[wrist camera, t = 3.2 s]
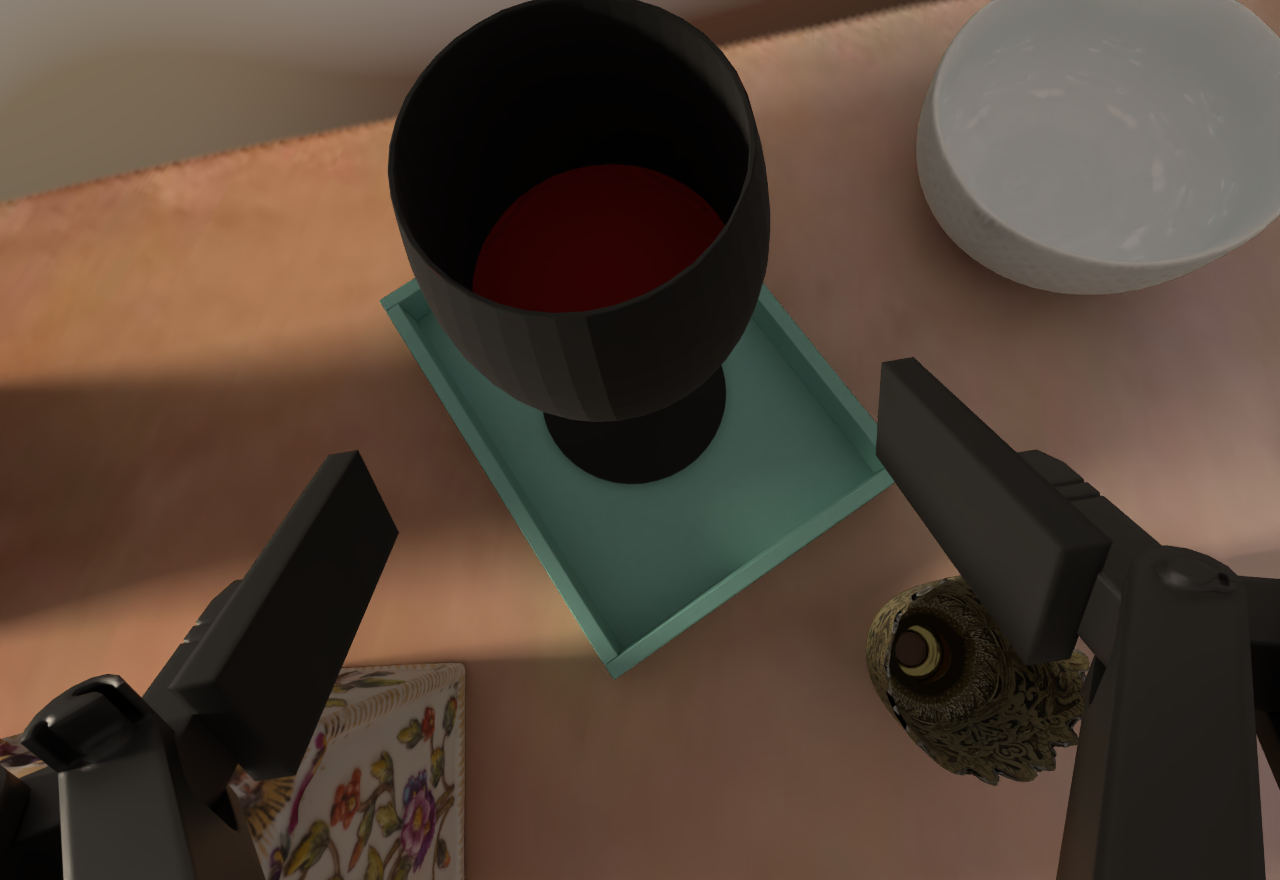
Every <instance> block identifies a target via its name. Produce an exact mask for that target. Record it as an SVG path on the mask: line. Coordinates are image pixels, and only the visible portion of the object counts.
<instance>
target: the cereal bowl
mask: <svg viewBox="0 0 1280 880" xmlns="http://www.w3.org/2000/svg"><path fill="white" fill-rule="evenodd" d="M916 150H917V155H916V161H917V166H918V171H917V172H918V175H919V179H920V184H921V188H922V190H923V192H924V197H925V199H926V201H927V203H928V205H929V207H930V209H931V212H932V213H933V215H934V217H935V218H936V220H937V221H938V223H939V224H940V226H941V228H942V229H943V230H944V231H945V233H946V234H947V235H948V236H949V237H950V238H951V239H952V241H954V242H955V243H956V244H957V245H958V247H959V248H961V249H962V250H963V251H964V252H965V253H966V254H968V255H969V256H970V257H971V258H972V259H974V260H976V261H978V262H979V263H980V264H981V265H983V266H985V267H986V268H987V269H990V270H992V271H993V272H995V273H996V274H999V275H1001V276H1002V277H1004V278H1008V279H1010V280H1011V281H1015V282H1017V283H1019V284H1024V285H1027V286H1029V287H1030V288H1037V289H1041V290H1047V291H1050V292H1057V293H1063V294H1079V295H1105V294H1119V293H1123V292H1127V291H1136V290H1140V289H1143V288H1146V287H1151V286H1156V285H1158V284H1160V283H1163V282H1167V281H1171V280H1173V279H1176V278H1178V277H1180V276H1184V275H1187V274H1189V273H1190V272H1192V271H1194V270H1196V269H1198V268H1200V267H1204V266H1206V265H1207V264H1209V263H1210V262H1212V261H1214V260H1215V259H1217V258H1220V257H1222V256H1224V255H1226V254H1227V253H1229V252H1230V251H1232V250H1234V249H1236V248H1238V247H1240V246H1241V245H1243V244H1244V243H1246V242H1247V241H1248V240H1250V239H1252V238H1253V237H1255V236H1256V235H1257V234H1259V233H1260V232H1261V231H1262V230H1263V229H1265V228H1266V227H1267V226H1268V225H1269V224H1270V223H1272V222H1273V221H1274V220H1275V219H1276V218H1277V217H1278V216H1279V215H1280V38H1279V36H1278V35H1277V34H1276V33H1275V32H1274V31H1273V30H1272V29H1271V28H1270V27H1268V26H1267V25H1266V24H1265V23H1264V22H1263V21H1262V20H1261V19H1260V18H1259V17H1258V16H1257V15H1256V14H1255V13H1253V12H1252V11H1251V10H1249V9H1248V8H1247V7H1245V6H1244V5H1243V4H1241V3H1239V2H1238V1H1236V0H992V1H990V2H989V3H988V4H986V5H985V6H984V7H983V8H981V9H980V10H979V11H978V12H977V13H976V14H975V15H974V16H973V17H972V18H971V19H970V20H969V21H968V22H967V23H966V24H965V25H964V26H963V27H962V28H961V30H960V31H959V32H958V34H957V35H956V36H955V37H954V39H953V40H952V42H951V44H950V45H949V47H948V48H947V50H946V52H945V53H944V55H943V56H942V59H941V61H940V64H939V66H938V68H937V69H936V72H935V75H934V78H933V80H932V82H931V84H930V86H929V89H928V93H927V95H926V97H925V100H924V103H923V108H922V112H921V114H920V119H919V126H918V129H917V142H916Z"/></svg>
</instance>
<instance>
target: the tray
mask: <svg viewBox="0 0 1280 880" xmlns="http://www.w3.org/2000/svg"><path fill="white" fill-rule="evenodd" d="M380 303H381V305H382V306H383V308H384V309H385V311H386V312H387V314H388V316H389V317H390V319H391V321H392V322H393V324H394V326H395V327H396V329H397V330H398V332H399V334H400V335H401V337H402V338H403V340H404V342H405V343H406V345H407V347H408V348H409V350H410V351H411V353H412V355H413V356H414V358H415V360H416V361H417V363H418V364H419V366H420V368H421V369H422V371H423V372H424V374H425V376H426V377H427V379H428V381H429V382H430V384H431V385H432V387H433V389H434V390H435V392H436V394H437V395H438V397H439V398H440V400H441V402H442V403H443V405H444V407H445V408H446V410H447V411H448V413H449V415H450V416H451V418H452V419H453V421H454V423H455V424H456V426H457V428H458V429H459V431H460V432H461V434H462V436H463V437H464V439H465V441H466V442H467V444H468V445H469V447H470V449H471V450H472V452H473V453H474V455H475V457H476V458H477V460H478V462H479V463H480V465H481V466H482V468H483V470H484V471H485V473H486V475H487V476H488V478H489V479H490V481H491V483H492V484H493V486H494V487H495V489H496V491H497V492H498V494H499V496H500V497H501V499H502V500H503V502H504V504H505V505H506V507H507V509H508V510H509V512H510V513H511V515H512V517H513V518H514V520H515V521H516V523H517V525H518V526H519V528H520V530H521V531H522V533H523V534H524V536H525V538H526V539H527V541H528V543H529V544H530V546H531V547H532V549H533V551H534V552H535V554H536V555H537V557H538V559H539V560H540V562H541V564H542V565H543V567H544V568H545V570H546V572H547V573H548V575H549V577H550V578H551V580H552V581H553V583H554V585H555V586H556V588H557V590H558V591H559V593H560V594H561V596H562V598H563V599H564V601H565V602H566V604H567V606H568V607H569V609H570V611H571V612H572V614H573V615H574V617H575V619H576V620H577V622H578V624H579V625H580V627H581V628H582V630H583V632H584V633H585V635H586V636H587V638H588V640H589V641H590V643H591V645H592V646H593V648H594V649H595V651H596V653H597V654H598V656H599V658H600V659H601V661H602V662H603V664H604V665H605V667H606V669H607V670H608V672H609V674H610V675H611V677H612V678H613V679H614V680H615V679H617V678H618V677H619V676H621V675H622V674H624V673H625V672H627V671H628V670H629V669H631V668H632V667H634V666H635V665H637V664H638V663H639V662H641V661H642V660H644V659H645V658H646V657H648V656H649V655H651V654H652V653H654V652H655V651H656V650H658V649H659V648H661V647H662V646H664V645H665V644H666V643H668V642H669V641H671V640H672V639H673V638H675V637H676V636H678V635H679V634H681V633H682V632H683V631H685V630H686V629H688V628H689V627H691V626H692V625H693V624H695V623H696V622H698V621H699V620H701V619H702V618H703V617H705V616H706V615H708V614H709V613H710V612H712V611H713V610H715V609H716V608H718V607H719V606H720V605H722V604H723V603H725V602H726V601H728V600H729V599H730V598H732V597H733V596H735V595H736V594H737V593H739V592H740V591H742V590H743V589H745V588H746V587H747V586H749V585H750V584H752V583H753V582H755V581H756V580H757V579H759V578H760V577H762V576H763V575H764V574H766V573H767V572H769V571H770V570H772V569H773V568H774V567H776V566H777V565H779V564H780V563H782V562H783V561H784V560H786V559H787V558H789V557H790V556H791V555H793V554H794V553H796V552H797V551H799V550H800V549H801V548H803V547H804V546H806V545H807V544H809V543H810V542H811V541H813V540H814V539H816V538H817V537H818V536H820V535H821V534H823V533H824V532H826V531H827V530H828V529H830V528H831V527H833V526H834V525H836V524H837V523H838V522H840V521H841V520H843V519H844V518H846V517H847V516H848V515H850V514H851V513H853V512H854V511H855V510H857V509H858V508H860V507H861V506H863V505H864V504H865V503H867V502H868V501H870V500H871V499H873V498H874V497H875V496H877V495H878V494H880V493H881V492H882V491H884V490H885V489H887V488H888V487H890V486H891V485H892V484H894V483H895V482H894V480H893V479H892V478H891V476H890V475H889V473H888V472H887V471H886V469H885V468H884V466H883V465H882V464H881V462H880V461H879V459H878V458H877V457H876V440H877V426H878V425H877V424H876V422H875V421H874V420H873V419H872V417H871V416H870V415H869V414H868V412H867V411H866V410H865V409H864V407H863V406H862V405H861V404H860V402H859V401H858V400H857V399H856V397H855V396H854V395H853V394H852V393H851V391H850V390H849V389H848V388H847V386H846V385H845V384H844V383H843V381H842V380H841V379H840V378H839V376H838V375H837V374H836V373H835V371H834V370H833V369H832V368H831V366H830V365H829V364H828V363H827V361H826V360H825V359H824V358H823V356H822V355H821V354H820V353H819V352H818V350H817V349H816V348H815V347H814V345H813V344H812V343H811V342H810V340H809V339H808V338H807V337H806V335H805V334H804V333H803V332H802V330H801V329H800V328H799V327H798V325H797V324H796V323H795V322H794V320H793V319H792V318H791V317H790V316H789V314H788V313H787V312H786V311H785V309H784V308H783V307H782V306H781V304H780V303H779V302H778V301H777V299H776V298H775V297H774V296H773V294H772V293H771V292H770V291H769V289H768V288H767V287H766V286H765V284H764V283H763V284H762V288H761V291H760V295H759V298H758V301H757V304H756V307H755V310H754V312H753V314H752V316H751V319H750V321H749V323H748V325H747V327H746V329H745V332H744V333H743V335H742V337H741V339H740V340H739V342H738V343H737V345H736V346H735V348H734V349H733V351H732V352H731V354H730V355H729V356H728V358H727V359H726V361H725V362H724V363H723V364H722V368H723V372H724V376H725V383H726V403H725V410H724V414H723V417H722V421H721V424H720V426H719V428H718V431H717V433H716V435H715V437H714V438H713V440H712V441H711V443H710V444H709V446H708V447H707V449H706V450H705V451H704V452H703V453H702V454H701V455H700V456H699V457H698V459H697V460H695V461H694V462H693V463H691V464H690V465H689V466H688V467H686V468H685V469H683V470H681V471H680V472H678V473H676V474H674V475H672V476H670V477H667V478H664V479H662V480H659V481H654V482H649V483H645V484H622V483H614V482H610V481H607V480H603V479H600V478H597V477H595V476H593V475H591V474H589V473H587V472H585V471H584V470H582V469H581V468H579V467H578V466H576V465H575V464H574V463H573V462H572V461H570V460H569V459H568V458H567V457H566V456H565V455H564V454H563V453H562V451H561V450H560V449H559V447H558V446H557V445H556V443H555V442H554V440H553V438H552V436H551V434H550V433H549V431H548V428H547V425H546V422H545V419H544V415H543V412H542V411H540V410H538V409H535V408H533V407H531V406H529V405H526V404H524V403H522V402H520V401H518V400H516V399H515V398H513V397H512V396H510V395H509V394H507V393H506V392H504V391H503V390H501V389H500V388H498V387H497V386H495V385H494V384H492V383H491V382H490V381H489V380H488V379H487V378H486V377H485V376H484V375H482V374H481V373H480V372H479V371H478V370H477V369H476V368H475V367H474V366H473V365H472V364H471V363H470V362H469V361H467V360H466V359H465V358H464V357H463V355H462V354H461V353H460V351H459V350H458V349H457V347H456V346H455V345H454V343H453V342H452V341H451V339H450V338H449V337H448V335H447V334H446V333H445V331H444V330H443V329H442V327H441V326H440V325H439V323H438V321H437V319H436V317H435V316H434V314H433V312H432V310H431V308H430V306H429V304H428V303H427V301H426V299H425V297H424V295H423V293H422V291H421V289H420V287H419V285H418V282H417V280H416V278H414V279H412V280H411V281H409V282H408V283H406V284H404V285H403V286H401V287H400V288H398V289H397V290H395V291H393V292H392V293H390V294H389V295H387V296H386V297H384V298H382V299H381V300H380Z"/></svg>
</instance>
